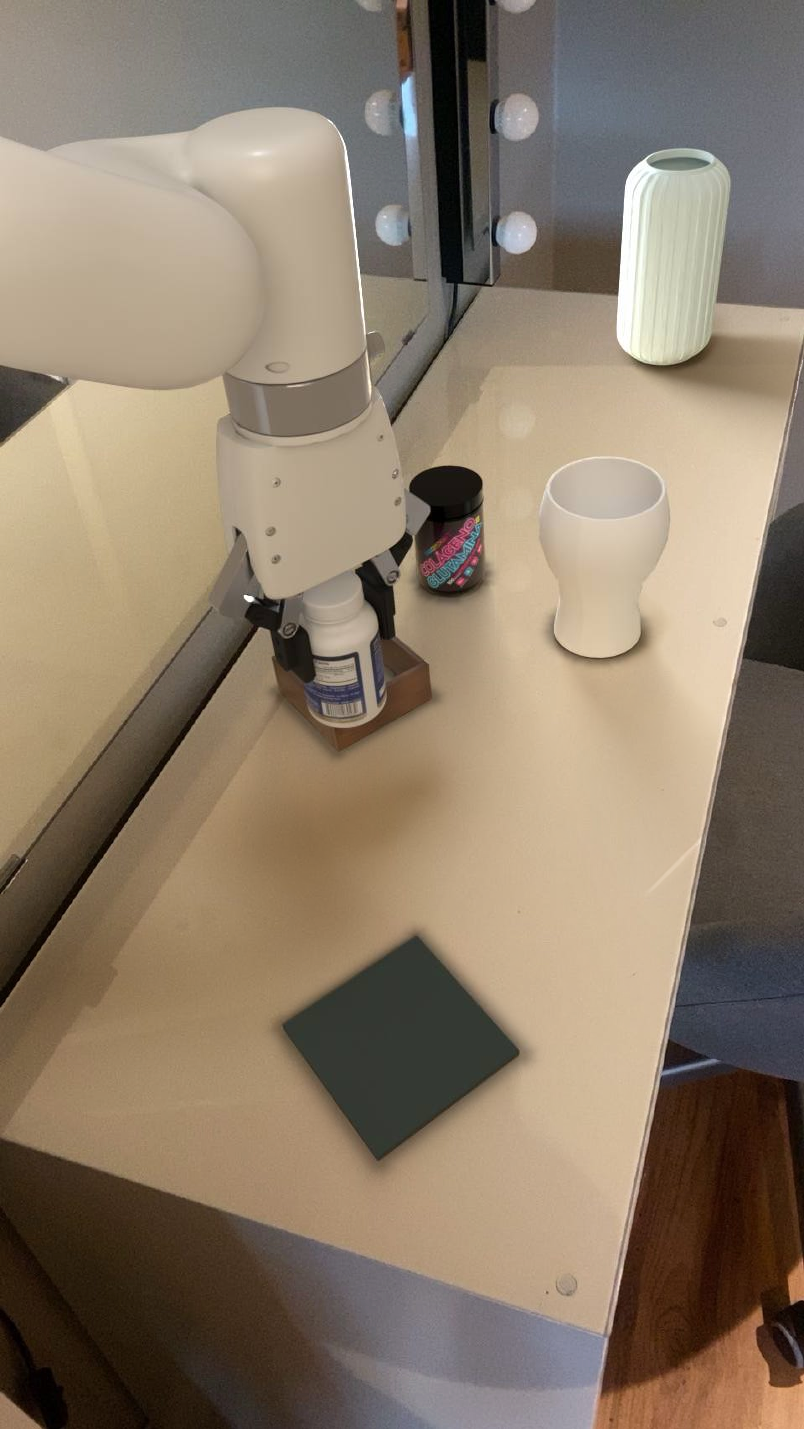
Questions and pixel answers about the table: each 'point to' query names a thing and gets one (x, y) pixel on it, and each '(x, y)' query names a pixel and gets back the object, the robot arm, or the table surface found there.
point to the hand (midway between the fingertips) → (338, 647)
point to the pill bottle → (343, 653)
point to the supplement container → (450, 530)
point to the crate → (400, 691)
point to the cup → (602, 549)
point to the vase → (671, 254)
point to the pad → (399, 1045)
